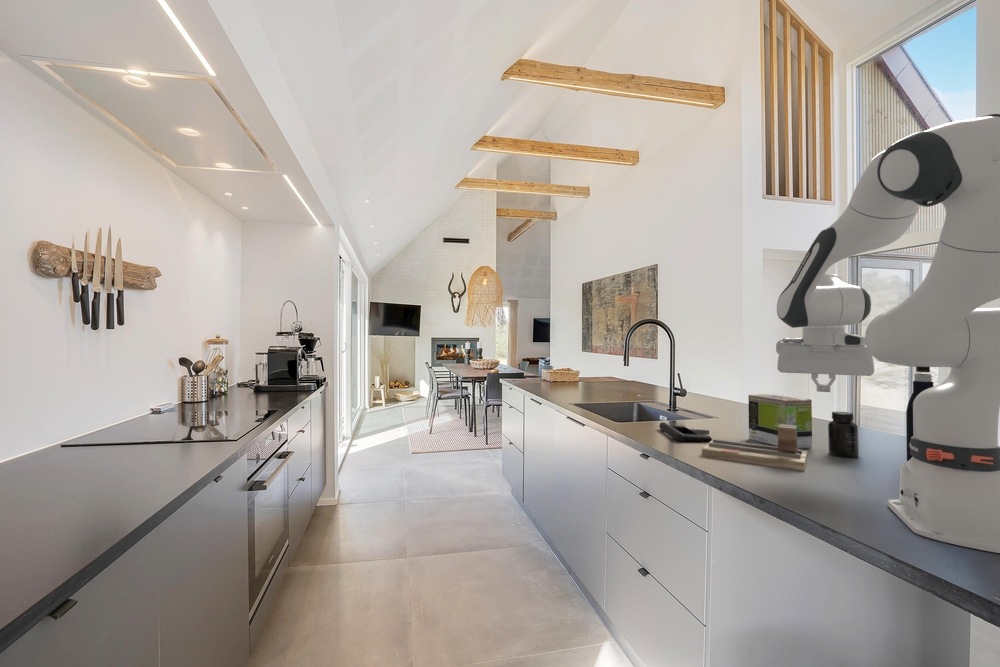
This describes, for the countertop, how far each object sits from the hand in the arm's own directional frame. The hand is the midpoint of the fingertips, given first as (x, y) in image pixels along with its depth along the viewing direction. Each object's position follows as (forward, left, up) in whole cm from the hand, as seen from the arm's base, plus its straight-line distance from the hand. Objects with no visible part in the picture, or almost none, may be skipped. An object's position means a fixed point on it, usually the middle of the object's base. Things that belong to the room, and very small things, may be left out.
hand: (823, 391), depth 115 cm
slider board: (0, +16, -19) cm, 25 cm away
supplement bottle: (+17, -4, -20) cm, 26 cm away
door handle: (+17, +38, -20) cm, 46 cm away
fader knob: (0, +8, -17) cm, 19 cm away
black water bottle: (+11, -20, -20) cm, 30 cm away
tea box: (+23, +12, -20) cm, 32 cm away
